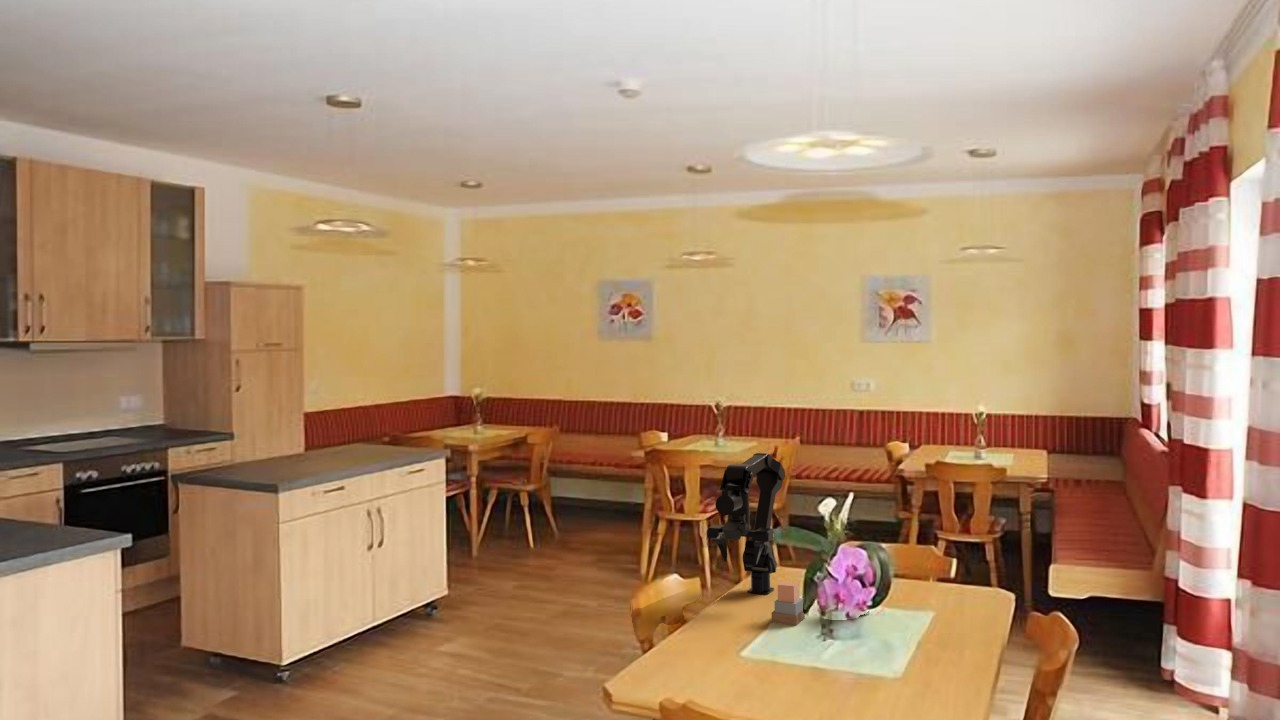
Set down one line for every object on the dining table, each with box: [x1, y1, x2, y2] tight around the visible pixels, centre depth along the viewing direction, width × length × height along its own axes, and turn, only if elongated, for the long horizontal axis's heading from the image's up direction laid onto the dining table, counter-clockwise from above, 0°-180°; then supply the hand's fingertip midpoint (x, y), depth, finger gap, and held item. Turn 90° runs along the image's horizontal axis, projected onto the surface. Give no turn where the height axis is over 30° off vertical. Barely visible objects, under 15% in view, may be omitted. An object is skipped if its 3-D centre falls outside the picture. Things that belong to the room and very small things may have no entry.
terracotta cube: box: [777, 580, 800, 603], centre depth 265 cm, size 4×4×4 cm
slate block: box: [774, 597, 804, 615], centre depth 265 cm, size 6×6×3 cm
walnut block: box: [770, 609, 806, 627], centre depth 265 cm, size 7×7×3 cm
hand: (740, 562), depth 282 cm, fingers open, 9 cm apart
